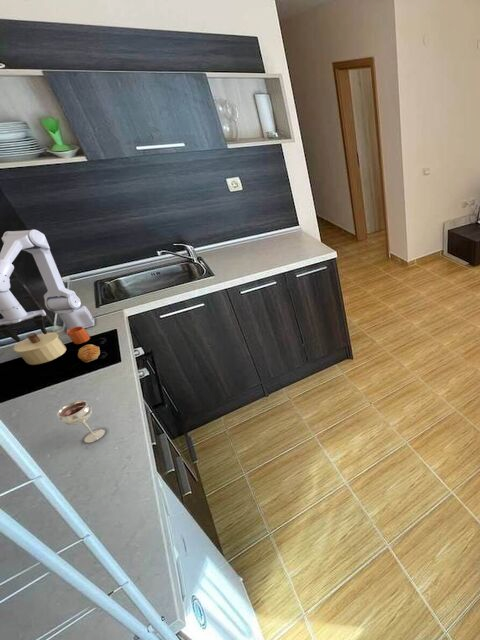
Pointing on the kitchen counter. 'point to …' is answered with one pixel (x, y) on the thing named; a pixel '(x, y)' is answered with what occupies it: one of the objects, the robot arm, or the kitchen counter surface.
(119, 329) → the kitchen counter surface
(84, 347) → the pastry
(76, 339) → the cup
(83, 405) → the wineglass
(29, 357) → the pot
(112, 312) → the kitchen counter surface
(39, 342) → the pot lid
